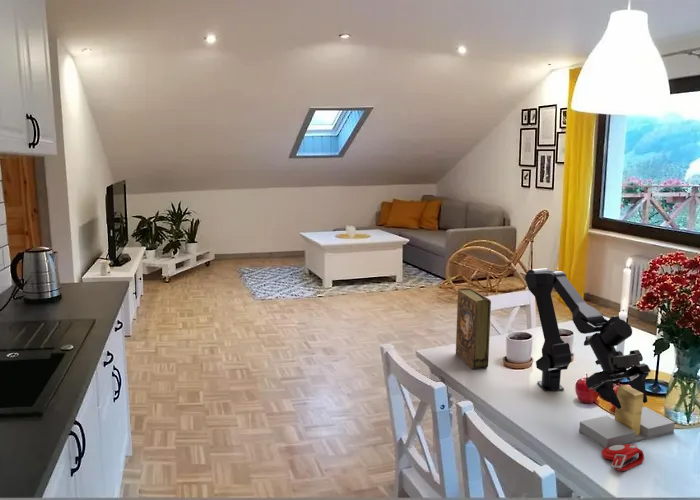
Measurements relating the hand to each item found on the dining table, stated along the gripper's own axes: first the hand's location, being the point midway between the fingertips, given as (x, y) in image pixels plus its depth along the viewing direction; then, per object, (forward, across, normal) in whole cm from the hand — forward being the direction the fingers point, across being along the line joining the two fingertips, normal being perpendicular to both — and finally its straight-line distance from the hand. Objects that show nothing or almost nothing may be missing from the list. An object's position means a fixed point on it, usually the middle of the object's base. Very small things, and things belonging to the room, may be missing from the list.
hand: (633, 405), depth 160 cm
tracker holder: (+13, -13, 0) cm, 18 cm away
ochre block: (+5, 0, +7) cm, 8 cm away
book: (-37, -12, +49) cm, 63 cm away
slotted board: (+5, 0, +7) cm, 9 cm away
